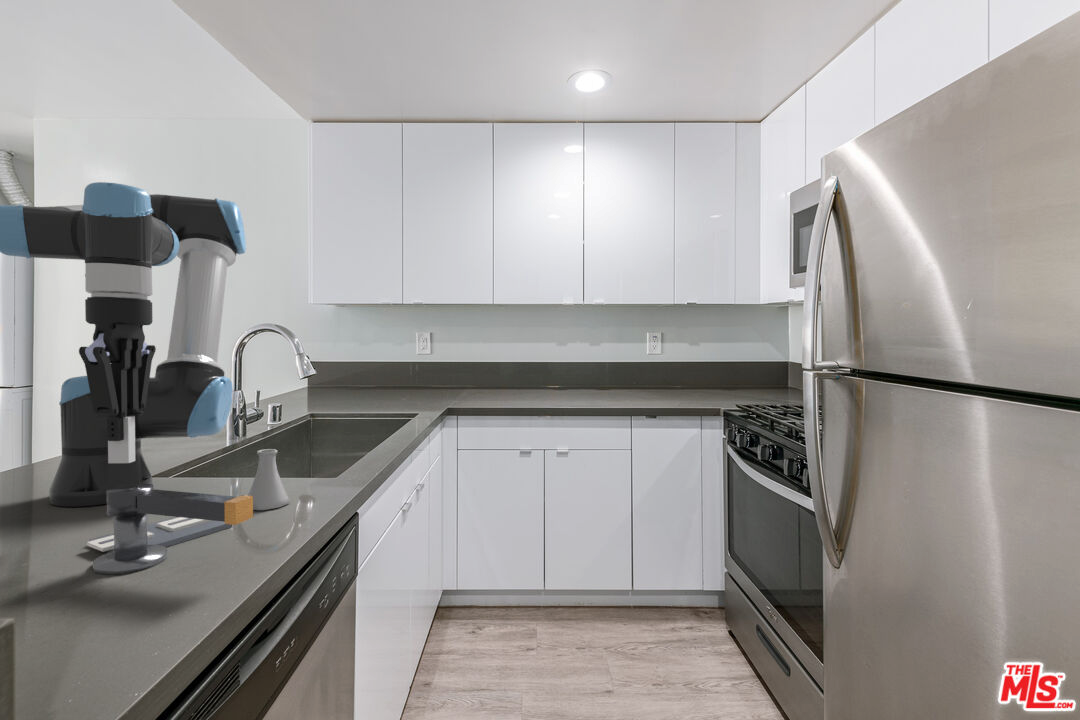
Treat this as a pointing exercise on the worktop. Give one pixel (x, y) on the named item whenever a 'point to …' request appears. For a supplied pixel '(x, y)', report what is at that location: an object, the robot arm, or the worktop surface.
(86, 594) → the worktop surface
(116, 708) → the worktop surface
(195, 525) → the label board
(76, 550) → the worktop surface
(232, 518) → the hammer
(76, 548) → the worktop surface
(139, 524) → the round pedestal stand
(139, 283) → the robot arm
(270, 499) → the flask
